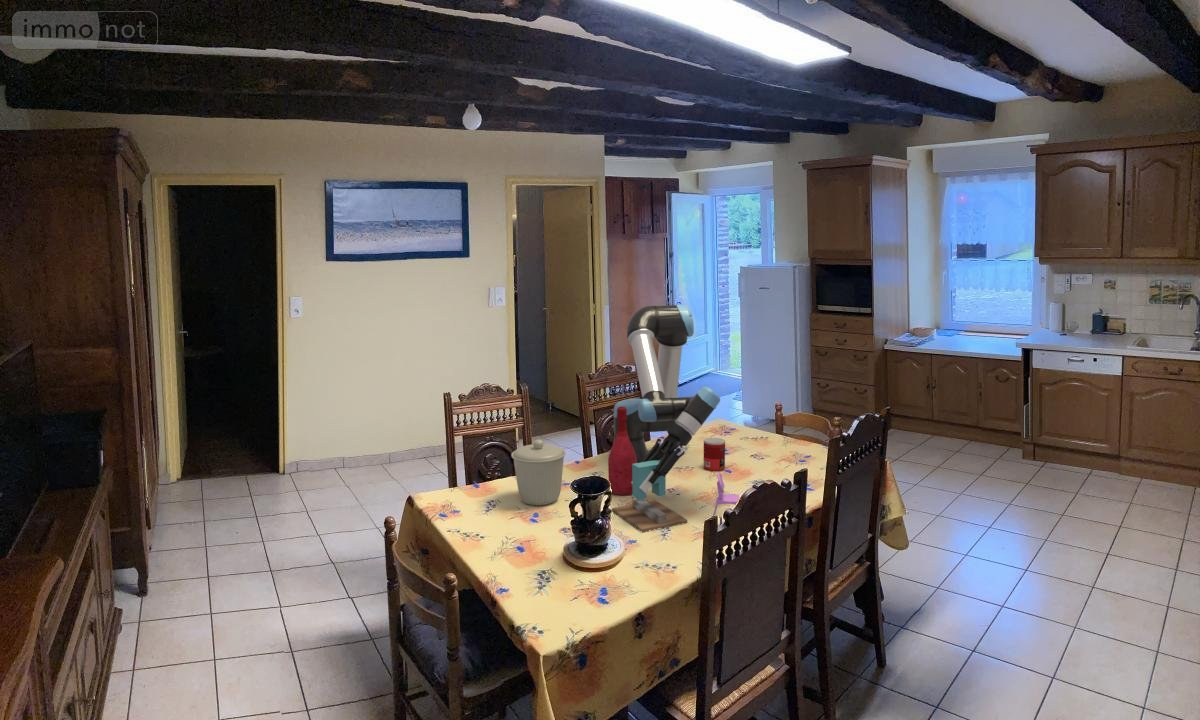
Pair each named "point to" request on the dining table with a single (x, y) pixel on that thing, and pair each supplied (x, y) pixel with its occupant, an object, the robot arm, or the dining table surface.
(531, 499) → the canister
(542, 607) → the dining table surface
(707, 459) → the canned food
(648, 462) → the clip
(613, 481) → the wine bottle
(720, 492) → the toy chair
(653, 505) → the rail board
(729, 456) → the dining table surface
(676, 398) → the robot arm
